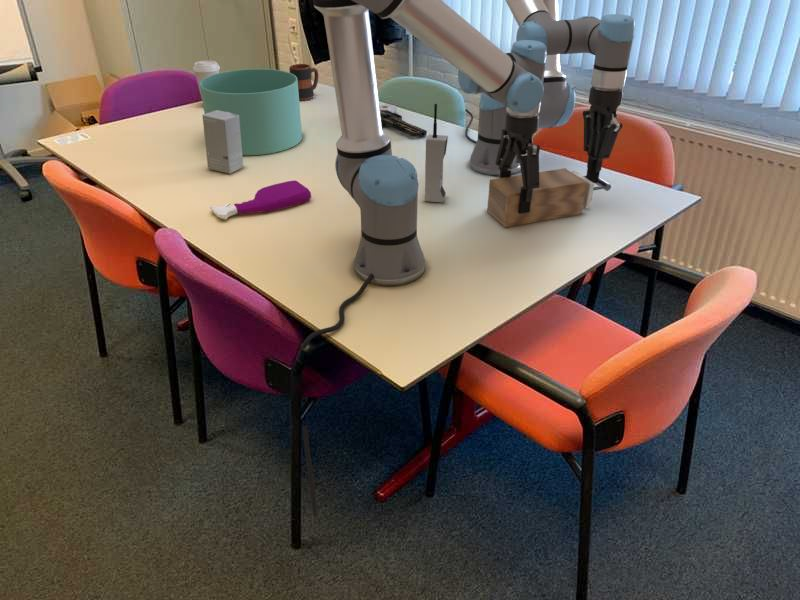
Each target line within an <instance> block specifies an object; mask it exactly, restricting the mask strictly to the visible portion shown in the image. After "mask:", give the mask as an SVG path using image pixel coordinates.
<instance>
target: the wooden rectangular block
mask: <svg viewBox="0 0 800 600" xmlns="http://www.w3.org/2000/svg"><path fill="white" fill-rule="evenodd" d="M572 172H573V171H571V170H569V169H567V168H565V167H564V168H559V169H558V168H557V169H552V170H545V171H539V188H535V189H533V193H532V200H531V206H530V212H527V213H522V214H519V213H518V211H519V202H520V192H521V187H523V181H522V174H518V175H517V174H516V175H511V176H510V177H503V178H500V177H497V178H490V179H489V183H488V194H487V196H488V198H487V208H486V212H487V213H488V214H489V215H491V216H492V217H493V218H494V219H495V220H496V221H497V222H499V224H500V225H502V226H503V227H504V228H508V227H515V226H521V225H527V224H533V223H539V222H544V221H549V220H555V219H561V218H562V219H563V218H566V217H572V216H573V217H574V216H578V215H582V213H583V208H584V207H583V202H584V196H585V190H586V185H587V182H586V181H584V180H583V179H581V178H580V177H578V176H576V175H575V174H573V173H572ZM527 184H528V183H527Z"/></svg>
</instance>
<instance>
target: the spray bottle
mask: <svg viewBox="0 0 800 600" xmlns="http://www.w3.org/2000/svg"><path fill="white" fill-rule="evenodd" d="M311 198H312V192H311V191H310V190H309V188H308V187H306V186H305V185H304V184H302V183H300V182H299V181H298V180H287V181H283V182H278V183H275V184H271V185H268V186H264V187H261V188H260V189H258V190H257V191H256V192H255V195H254V198H253V199H249V200H248V201H243V202H241V203H234V204H233V205H231V203H230V202H228V203H227V204H224V205H222V206H221V205H216V206H214V205H210V207H209V208H210V210H211V212H212V213H213V214H214V215H216V217H218V218H220V219H222V220H227V219H228V218H229V217H231V216H234V215H237V214H238V215H239V214H240V215H241V214H253V213H269V212H275V211H280V210H283V209H286V208H287V209H288V208H291V207H294V206H297V205H301V204H303V203H306V202H309V201H310V200H311Z"/></svg>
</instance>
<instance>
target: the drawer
mask: <svg viewBox="0 0 800 600" xmlns="http://www.w3.org/2000/svg"><path fill="white" fill-rule="evenodd" d="M571 172H572V173H573V174H575V175H576V176H578V177H580V178H581V179H583V180H584V181H586V182H587V185H586V190H585V196H584V202H583V208H584V209H586V210H587V209H591V204H592V199H593V193H594V191H598V190H605V191H606V192H609V191H610V190H611V189H612V185H611V184H610V183H609V182H607V181H605V180H604V179H602V178H601V177H599V179H598V183H593V182H591V181H590V180H588V179H587V178H586V175H582V174H581V173H580V172H579V173H578V172H577V171H574V170H573V171H571ZM595 185H597V186H595Z"/></svg>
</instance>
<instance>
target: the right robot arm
mask: <svg viewBox="0 0 800 600" xmlns="http://www.w3.org/2000/svg"><path fill="white" fill-rule="evenodd" d="M505 3H506V5H507V6H508V8H509V10H510V12H511V14H512V16H513V18H514V20H515V22H516V23H517V26H518V28H517V30H516V38H515V42H516V41H519V40H535V41H540V42H542V43H544V44H545V45H546V66H545V73H544V81H543V88H544V93H543V97H542V100H541V104H540V112H539V114H538V116H539V124H538V130H539V129H553V128H557V127H563V126H564V125H566V124H567V123H568V122H569V121H570V120H571V117H573V114H574V110H575V106H576V92H575V90H574V87H573V85H572V84H571V83H568V82H567V76H566V75H565V74H564V73H563V72H562V70H561V58H560V55H573V54H590V55H593V56H594V63H593V67H592V74H591V80H590V85H591V87H590V89H589V97H588V103H589V104H590V107H589V109H586V110H583V111H582V119H583V152H586V153H587V157H588V158H587V163H586V164H587V165H586V167H587V168H586V175H585V176H586V178H587V179H588V180H590V181H591V182H593V183H594V184H595V183H598V179H599V178H600V172H601V171H602V166H603V162H604V161H603V160H606V159H610V157H611V154H612V152H613V150H614V146H615V143H616V141H617V138H618V135H619V133H620V131H621V130H622V128H623V123H622V122H619V121H618V119H617V117H618V113H617V109H618V108H619V107H620V106H621V104H622V103H623V95H624V89H623V88H624V87H625V85H626V84H625V83H626V78H627V71H628V66H629V62H630V57H631V51H632V47H633V41H634V38H635V33H634V32H635V25H636V20H635V18H634V17H633V16H631V15H628V14H618V13H617V14H616V13H613V14H612V13H611V14H604V15H603V16H602V17H601V19H599V18H598V17H596V16H591V15H590V16H589V15H582V16H579V17H577V18H576V19H559V0H505ZM478 108H479V110H478V112H479V113H478V127H477V140H474V139H473V138H471V137H470V136H469V135H468V130H469V128H470V127H471V125H472V124H473V123H472V122H473V121H474V115H473V113H471V111H469V110H468V109H467V108H465V112H466V113H467V114H468V115H469V116H470V120H469V123H468V125H467V126H466V127H465V132H464V136H465V138H466V139H467V140H468V141H470V142H472V143H473V144H475V145H474V147H473V150H472V152H471V154H470V158H469V167H470V169H472V170H473V171H475V172H477V173H479V174H482V175H488V176H497V177H498V176H499V177H500V170H499V166H498V165H496V158H497V154H498V150H499V146H500V142H501V135H502V129H505V121H506V114H507V113H508V112H507V111H506V108H507V106H505V105H503V104H502V103H500V102H498V101H497V100H494V99H493V98H491V97H489V96H487V95H486V94H484V93H480V98H479V103H478ZM501 160H502V159H501ZM511 167H512V169H508V170H511V175H514V174H517V173H519V172H521V168H520V161H519V160H518V159H517V154H516V156H515V158H514V160H513V162H512V164H511Z"/></svg>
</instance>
